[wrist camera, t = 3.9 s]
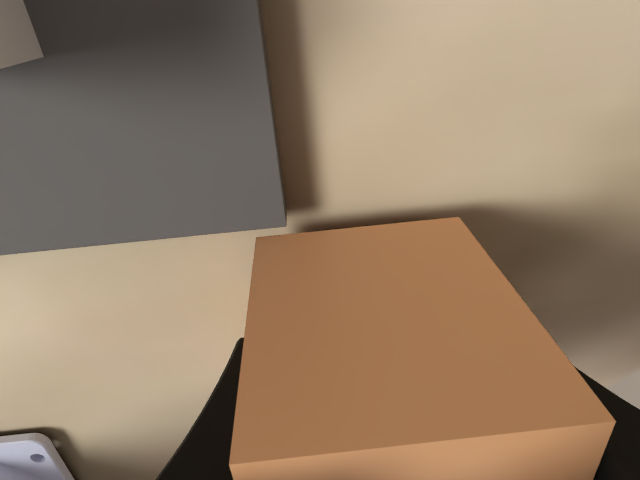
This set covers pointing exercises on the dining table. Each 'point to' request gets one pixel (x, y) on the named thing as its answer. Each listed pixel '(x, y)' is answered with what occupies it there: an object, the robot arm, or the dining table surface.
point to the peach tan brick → (403, 365)
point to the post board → (134, 122)
